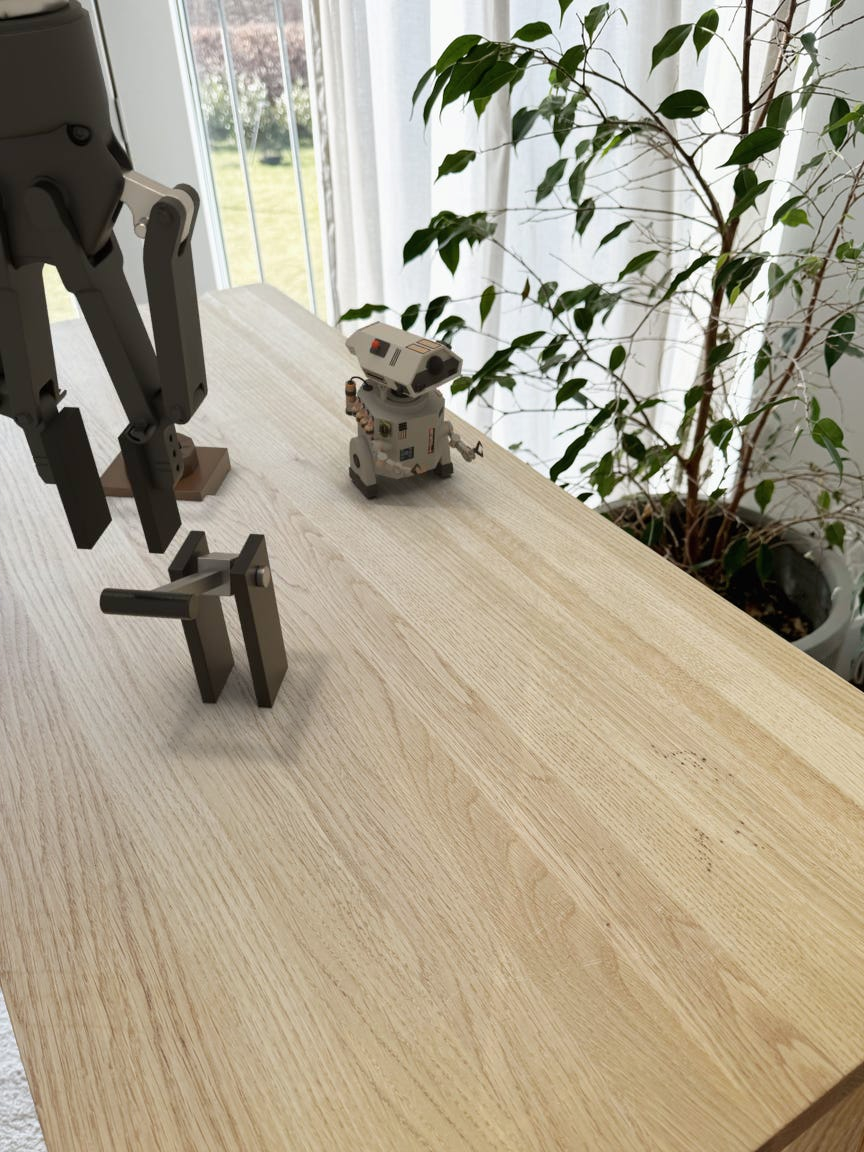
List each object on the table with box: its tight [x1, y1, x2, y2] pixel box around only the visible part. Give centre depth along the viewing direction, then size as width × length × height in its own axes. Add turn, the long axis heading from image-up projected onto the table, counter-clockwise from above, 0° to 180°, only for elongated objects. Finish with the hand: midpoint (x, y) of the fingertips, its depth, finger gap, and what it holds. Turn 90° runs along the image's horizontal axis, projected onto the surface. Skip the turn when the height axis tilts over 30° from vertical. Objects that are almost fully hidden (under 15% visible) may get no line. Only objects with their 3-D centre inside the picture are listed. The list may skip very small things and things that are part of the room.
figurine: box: [344, 320, 484, 499], centre depth 89 cm, size 9×12×15 cm
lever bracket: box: [167, 529, 289, 709], centre depth 68 cm, size 10×8×13 cm
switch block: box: [99, 431, 232, 502], centre depth 93 cm, size 10×8×4 cm
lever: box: [99, 551, 240, 620], centre depth 60 cm, size 13×5×2 cm, turn 173°
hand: (130, 535), depth 52 cm, fingers open, 3 cm apart
